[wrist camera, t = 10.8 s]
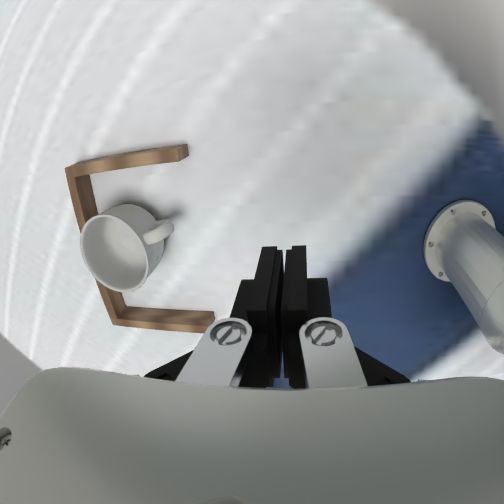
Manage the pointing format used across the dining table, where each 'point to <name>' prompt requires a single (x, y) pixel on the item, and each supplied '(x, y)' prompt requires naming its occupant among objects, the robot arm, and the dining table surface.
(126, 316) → the walnut bay
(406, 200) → the dining table surface
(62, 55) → the dining table surface
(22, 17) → the dining table surface
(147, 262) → the teacup
